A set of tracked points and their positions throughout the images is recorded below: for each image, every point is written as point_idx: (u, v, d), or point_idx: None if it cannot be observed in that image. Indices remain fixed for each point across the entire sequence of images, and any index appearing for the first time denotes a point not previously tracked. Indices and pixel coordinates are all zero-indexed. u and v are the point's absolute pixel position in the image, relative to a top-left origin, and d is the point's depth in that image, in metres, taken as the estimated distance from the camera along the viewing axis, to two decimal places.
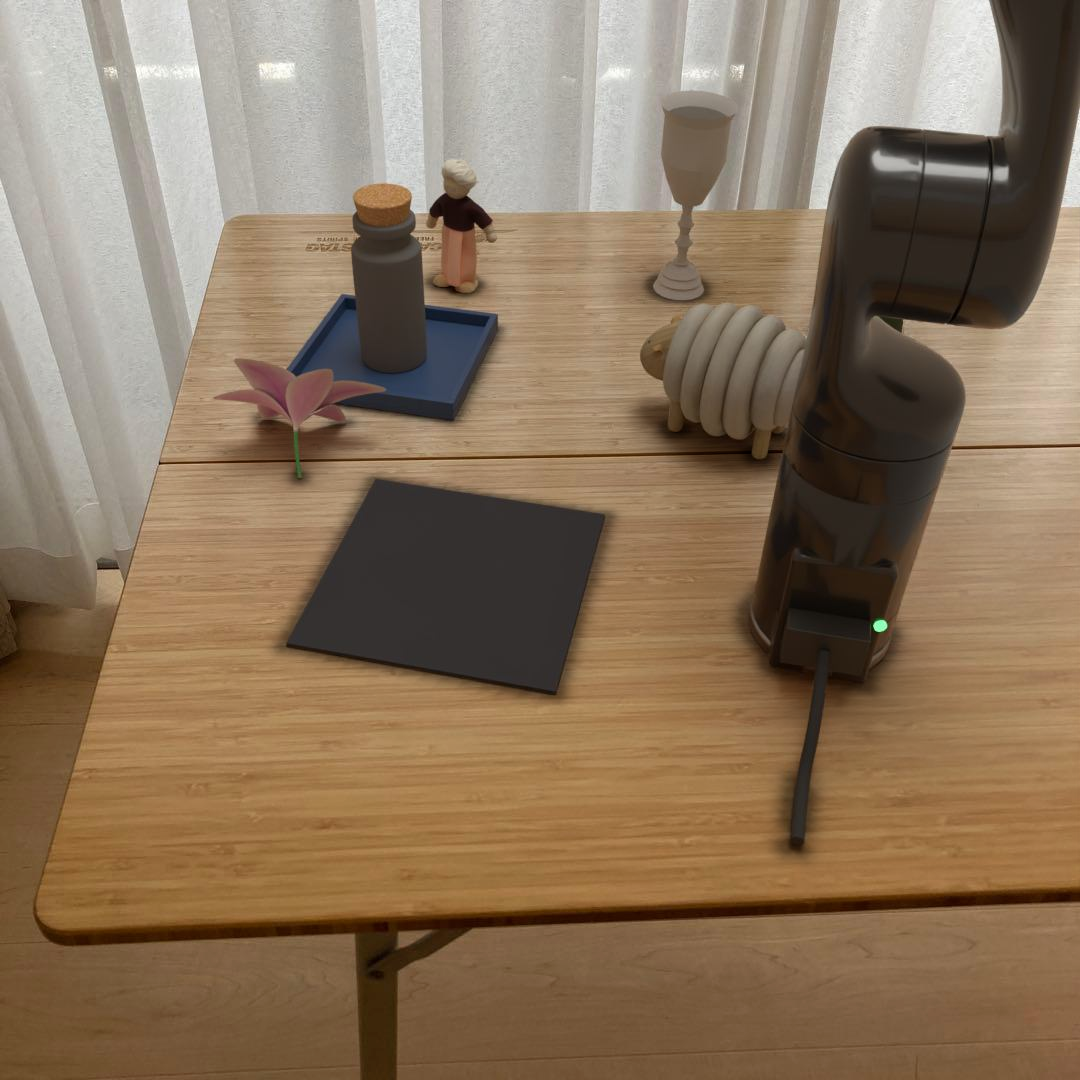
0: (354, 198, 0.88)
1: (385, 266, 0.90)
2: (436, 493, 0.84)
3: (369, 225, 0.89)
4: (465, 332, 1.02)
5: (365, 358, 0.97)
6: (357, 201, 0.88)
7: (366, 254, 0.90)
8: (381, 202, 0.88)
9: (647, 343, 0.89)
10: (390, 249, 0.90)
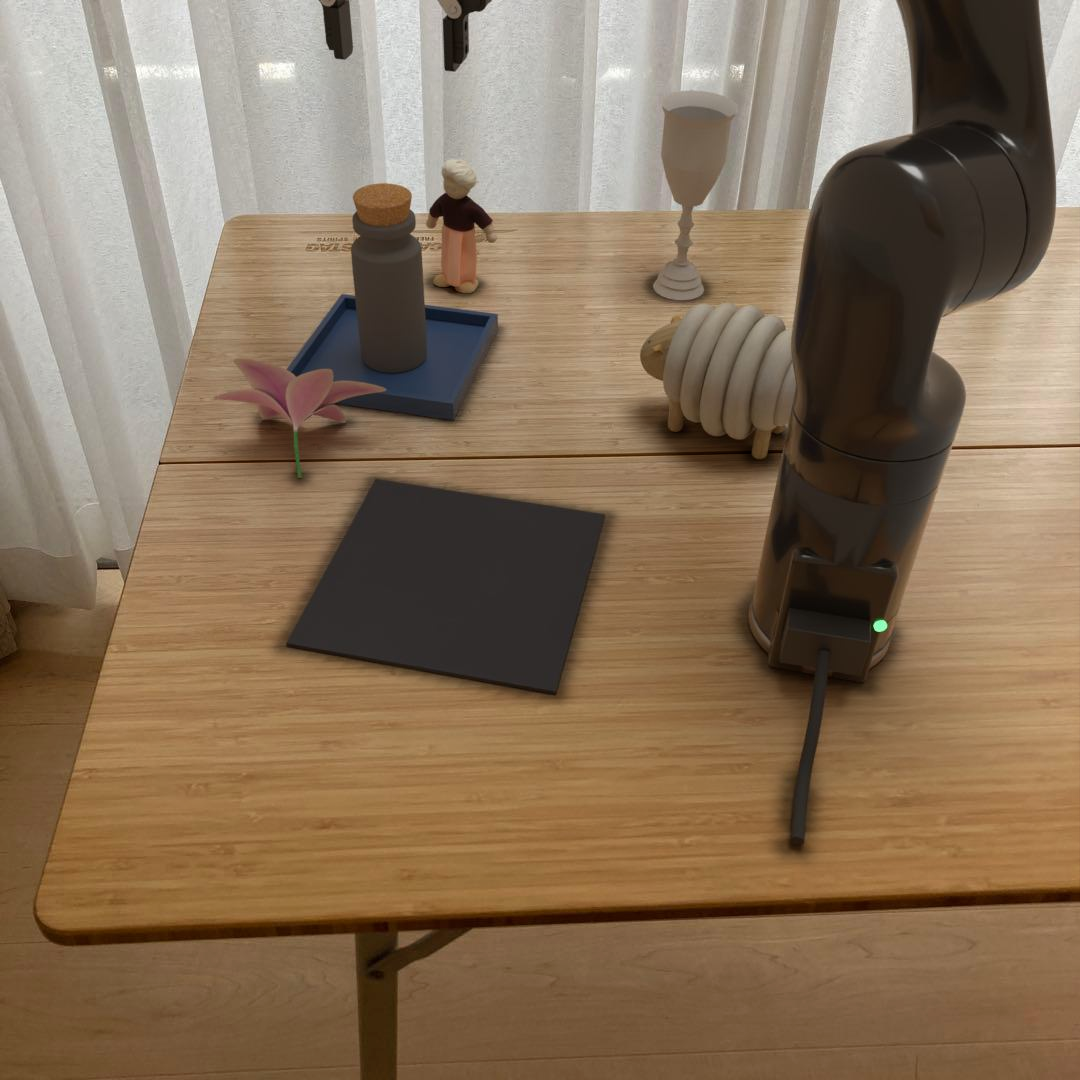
0: (354, 198, 0.88)
1: (385, 266, 0.90)
2: (436, 493, 0.84)
3: (369, 224, 0.89)
4: (465, 332, 1.02)
5: (365, 358, 0.97)
6: (357, 200, 0.88)
7: (366, 254, 0.90)
8: (381, 202, 0.88)
9: (647, 343, 0.89)
10: (390, 249, 0.90)
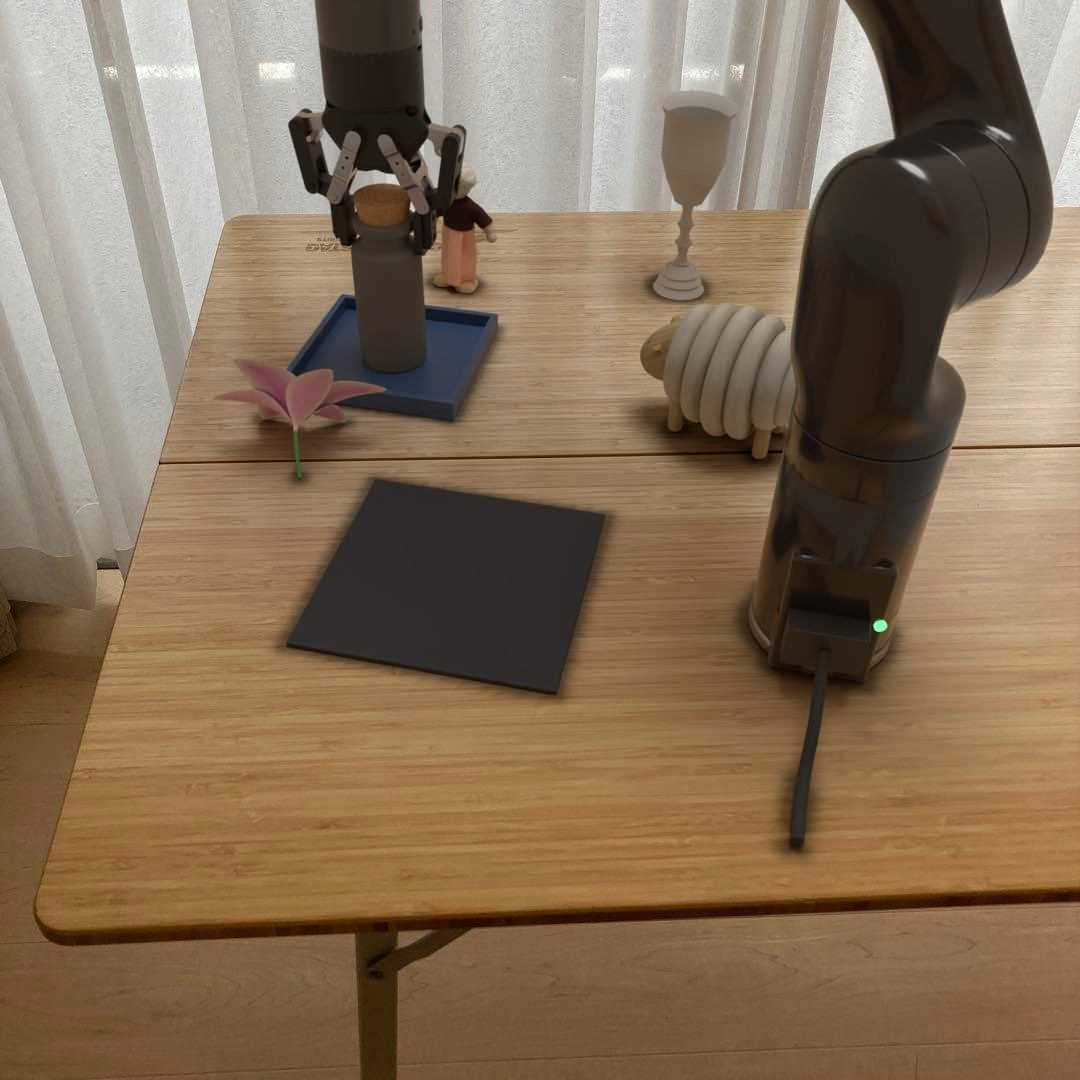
0: (354, 198, 0.88)
1: (384, 266, 0.90)
2: (436, 493, 0.84)
3: (369, 224, 0.89)
4: (465, 332, 1.02)
5: (365, 358, 0.97)
6: (357, 200, 0.88)
7: (366, 254, 0.90)
8: (381, 202, 0.88)
9: (647, 343, 0.89)
10: (390, 249, 0.90)
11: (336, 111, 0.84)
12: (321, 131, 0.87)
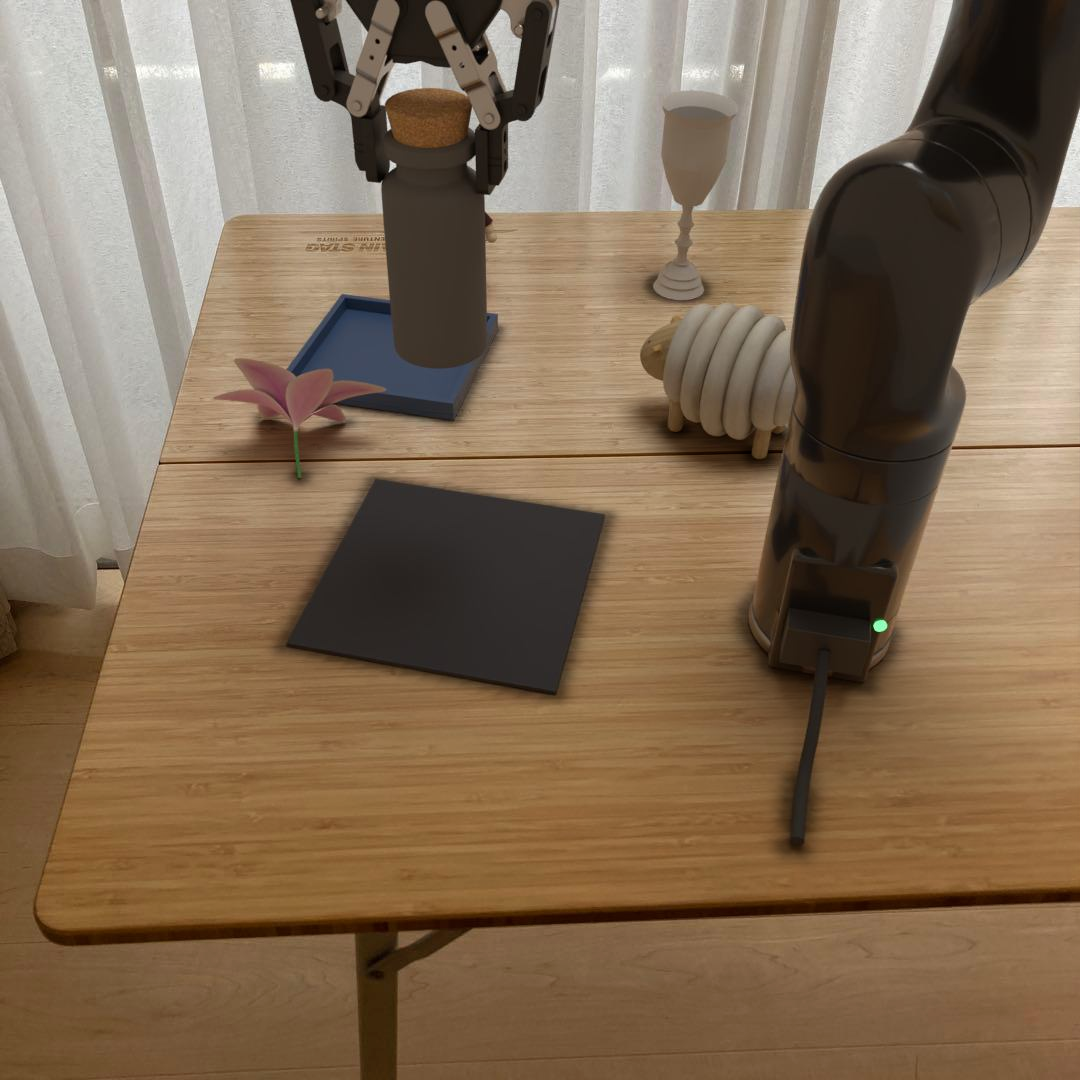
0: (387, 106, 0.59)
1: (432, 210, 0.61)
2: (436, 493, 0.84)
3: (410, 146, 0.59)
4: None
5: (400, 347, 0.68)
6: (392, 109, 0.59)
7: (404, 192, 0.61)
8: (428, 111, 0.59)
9: (647, 343, 0.89)
10: (439, 184, 0.61)
11: None
12: (338, 3, 0.58)
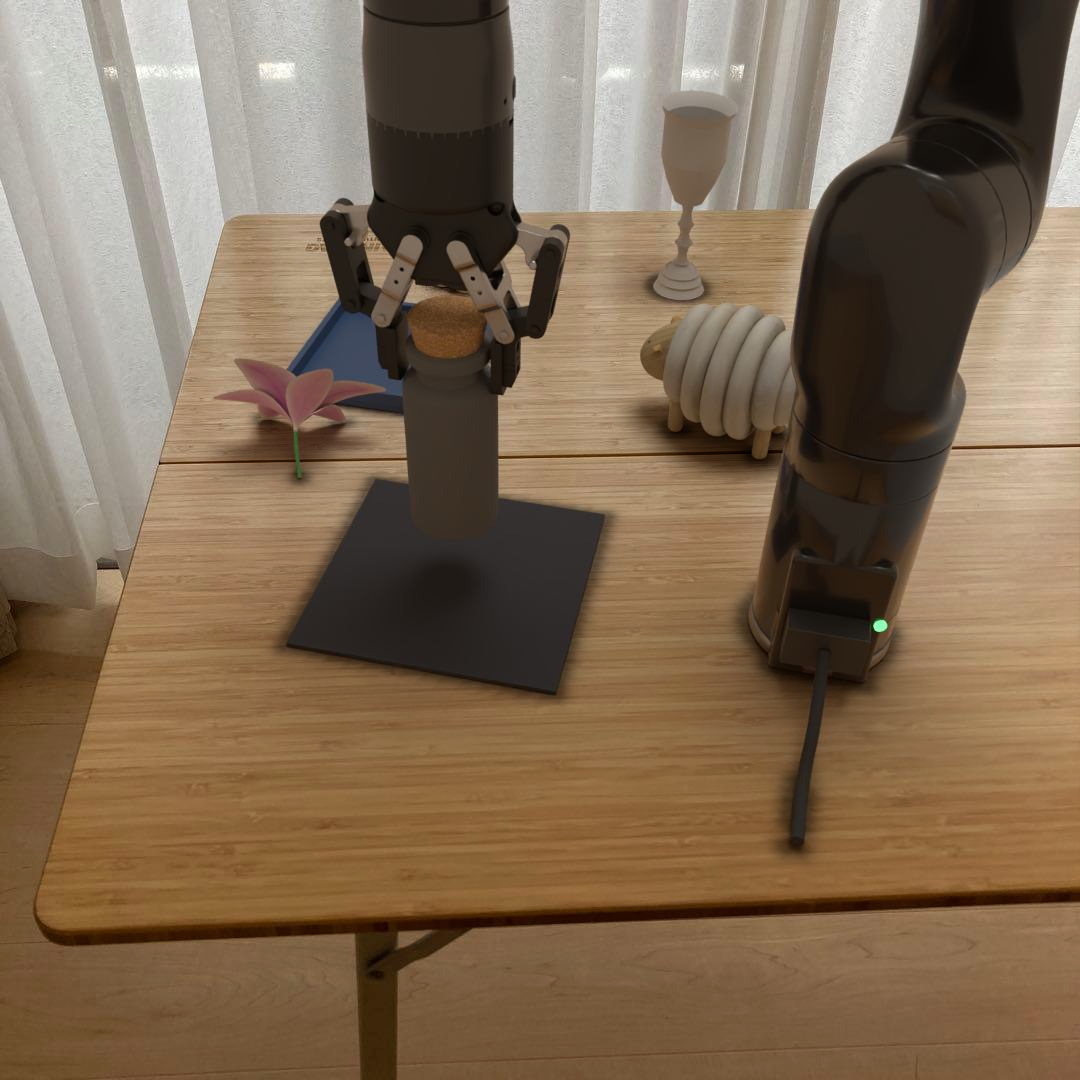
0: (409, 320, 0.64)
1: (450, 411, 0.65)
2: None
3: (430, 356, 0.64)
4: None
5: (417, 520, 0.72)
6: (414, 324, 0.63)
7: (424, 394, 0.65)
8: (447, 327, 0.63)
9: (647, 343, 0.89)
10: (457, 387, 0.65)
11: (388, 206, 0.60)
12: (365, 230, 0.62)
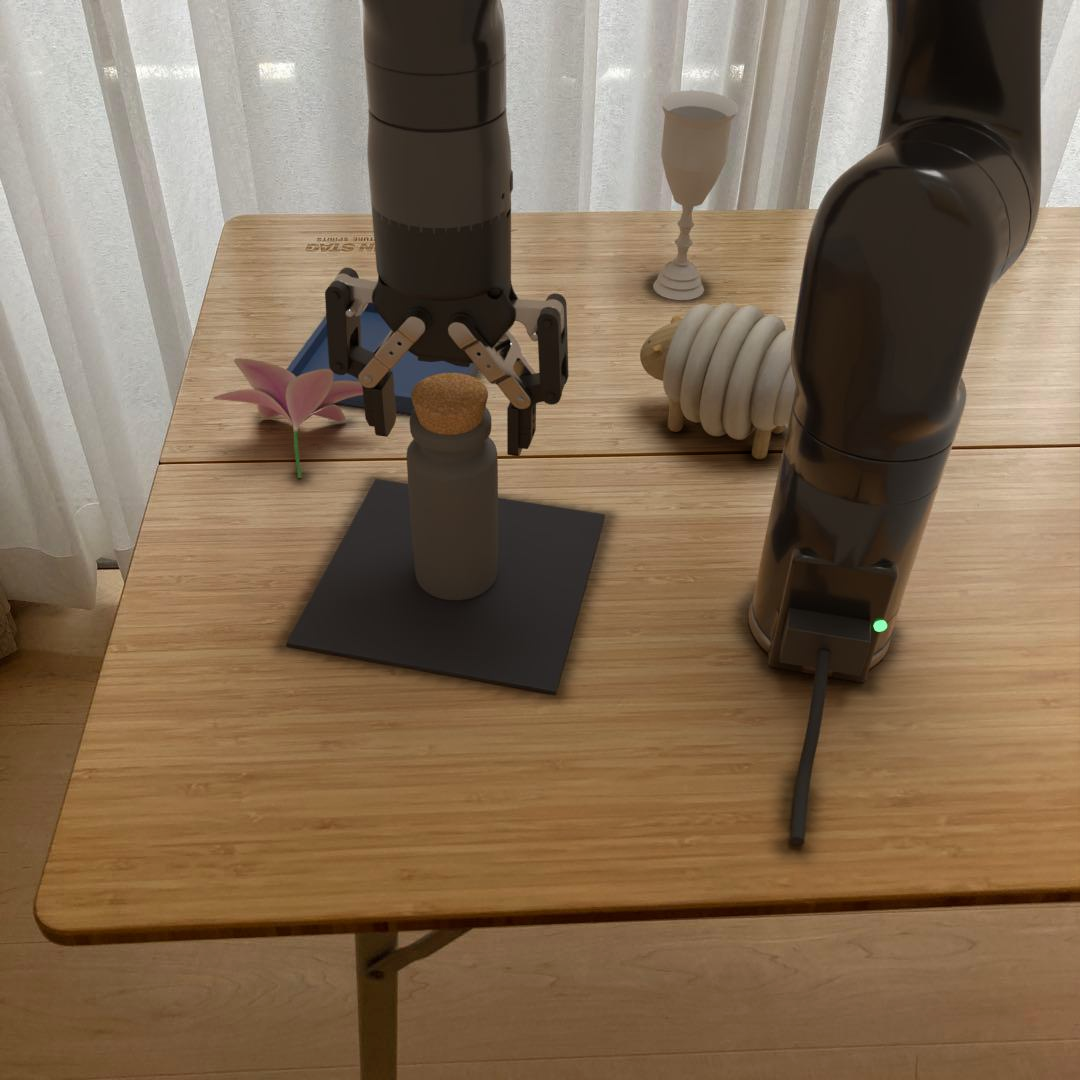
0: (413, 399, 0.67)
1: (452, 483, 0.69)
2: None
3: (433, 433, 0.68)
4: None
5: (421, 580, 0.76)
6: (417, 403, 0.67)
7: (428, 467, 0.69)
8: (449, 406, 0.67)
9: (647, 343, 0.89)
10: (458, 460, 0.69)
11: (396, 291, 0.63)
12: (366, 303, 0.65)
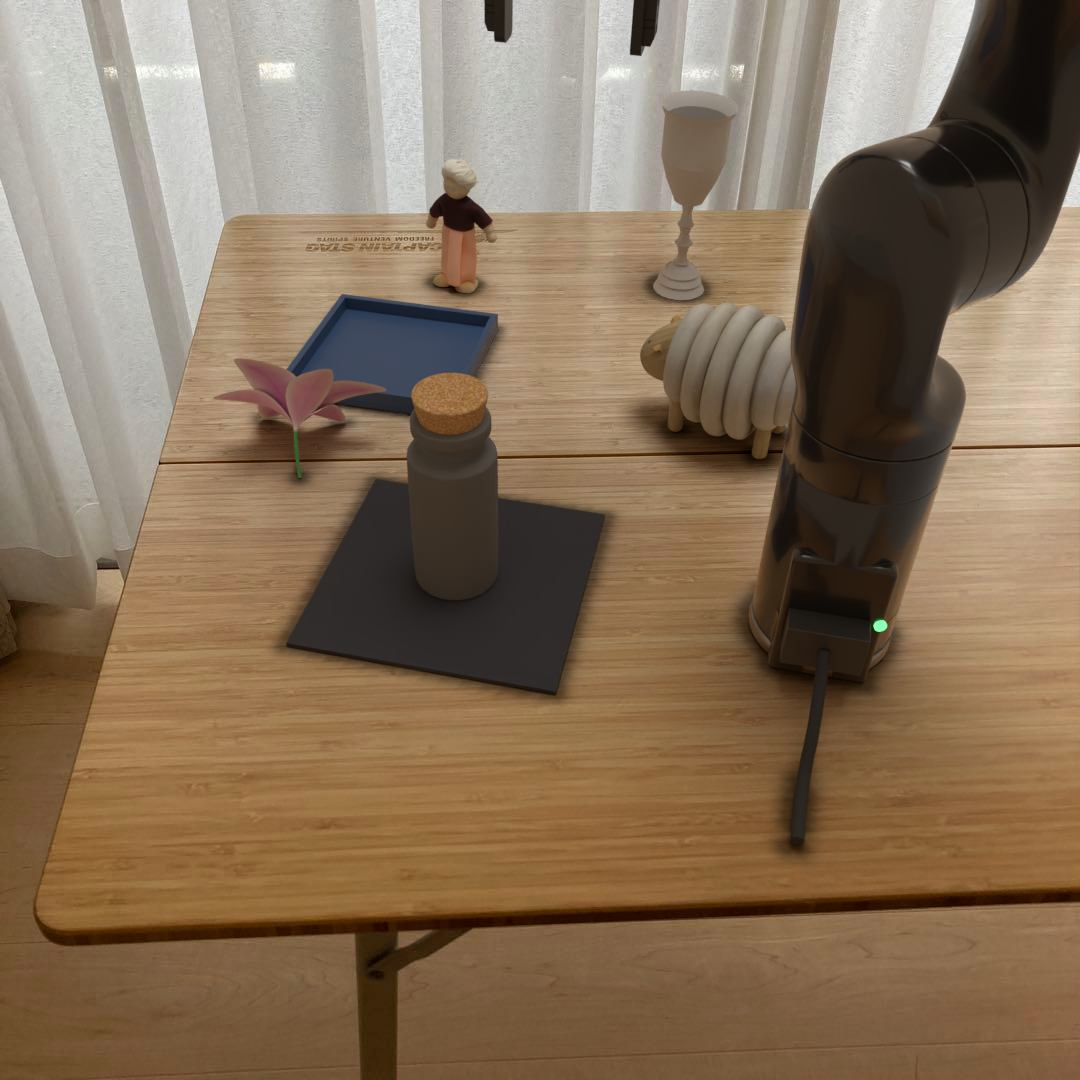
0: (413, 398, 0.67)
1: (452, 483, 0.69)
2: None
3: (433, 432, 0.68)
4: (465, 332, 1.02)
5: (421, 580, 0.76)
6: (418, 403, 0.67)
7: (428, 467, 0.69)
8: (449, 406, 0.67)
9: (647, 343, 0.89)
10: (458, 460, 0.69)
11: None
12: None
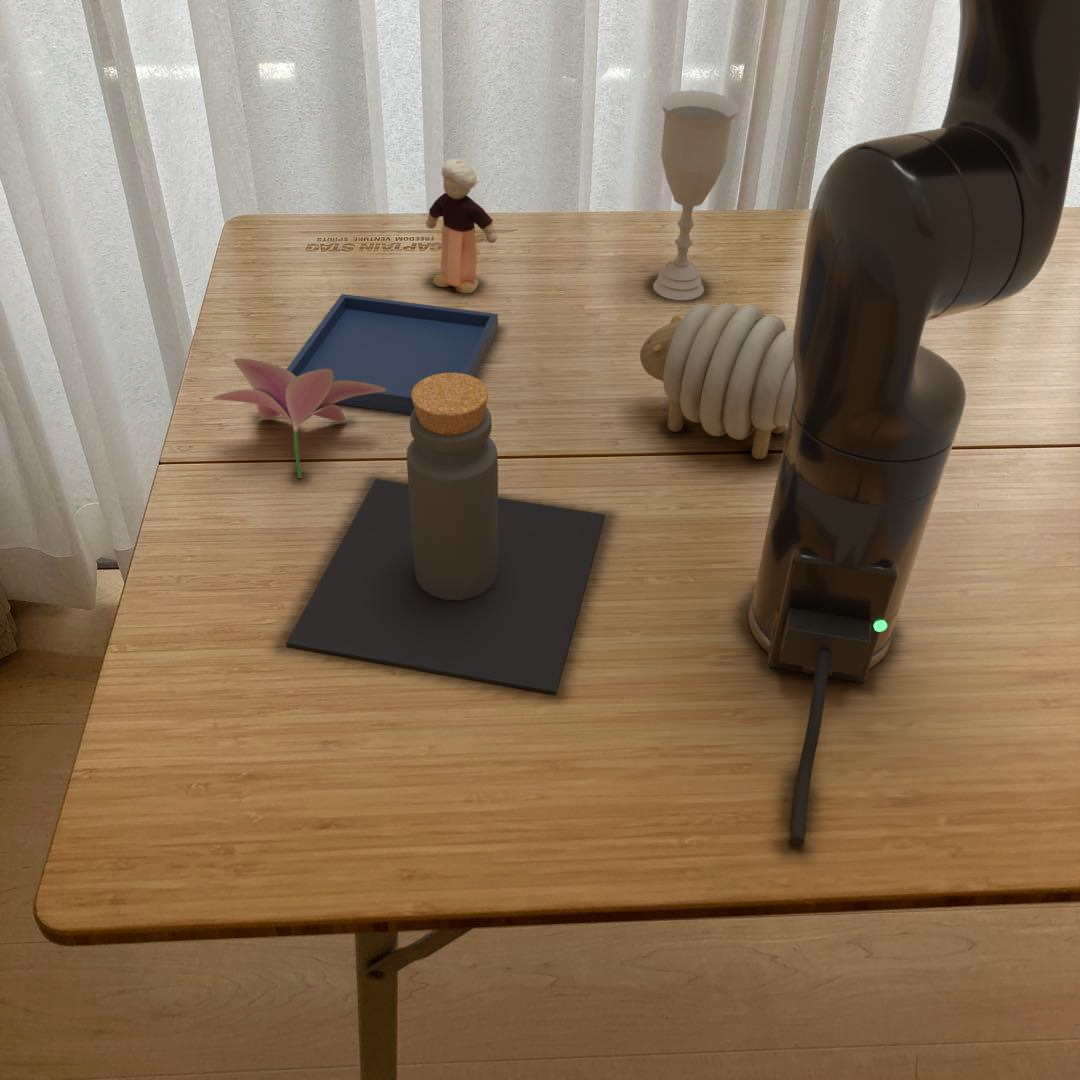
0: (413, 398, 0.67)
1: (452, 483, 0.69)
2: None
3: (433, 432, 0.68)
4: (465, 332, 1.02)
5: (421, 580, 0.76)
6: (418, 403, 0.67)
7: (428, 467, 0.69)
8: (450, 406, 0.67)
9: (647, 343, 0.89)
10: (458, 460, 0.69)
11: None
12: None
